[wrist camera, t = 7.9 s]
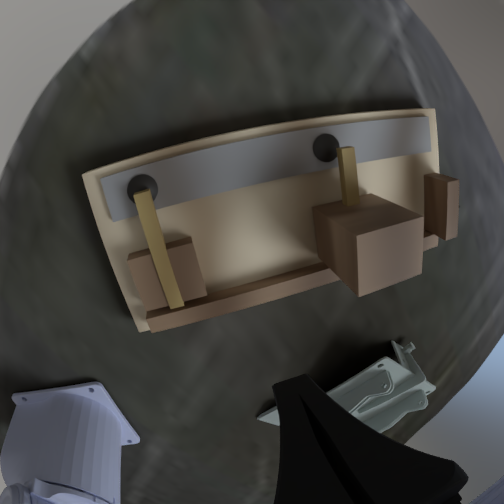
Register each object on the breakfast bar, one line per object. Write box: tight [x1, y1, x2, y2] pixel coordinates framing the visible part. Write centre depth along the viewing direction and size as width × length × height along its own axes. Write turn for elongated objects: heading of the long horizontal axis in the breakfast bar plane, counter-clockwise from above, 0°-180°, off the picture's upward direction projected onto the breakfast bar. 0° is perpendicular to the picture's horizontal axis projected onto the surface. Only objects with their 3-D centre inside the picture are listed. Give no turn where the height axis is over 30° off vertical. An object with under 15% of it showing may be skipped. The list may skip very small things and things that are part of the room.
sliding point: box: [312, 146, 424, 297], centre depth 16 cm, size 4×6×5 cm, turn 11°
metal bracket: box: [257, 340, 436, 433], centre depth 27 cm, size 14×6×15 cm
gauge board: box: [82, 108, 459, 333], centre depth 18 cm, size 22×10×4 cm, turn 101°
